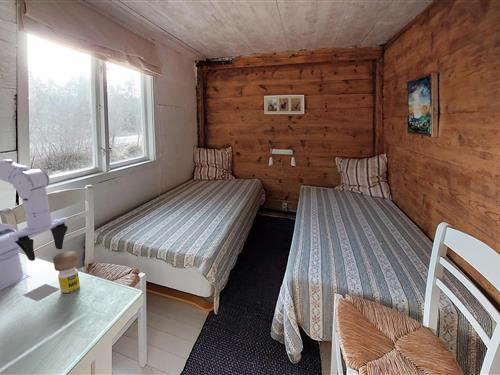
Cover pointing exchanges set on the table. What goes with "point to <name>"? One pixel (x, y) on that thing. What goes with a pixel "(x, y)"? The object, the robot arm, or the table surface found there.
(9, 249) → the robot arm
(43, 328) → the table surface
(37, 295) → the mat
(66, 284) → the supplement bottle
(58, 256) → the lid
